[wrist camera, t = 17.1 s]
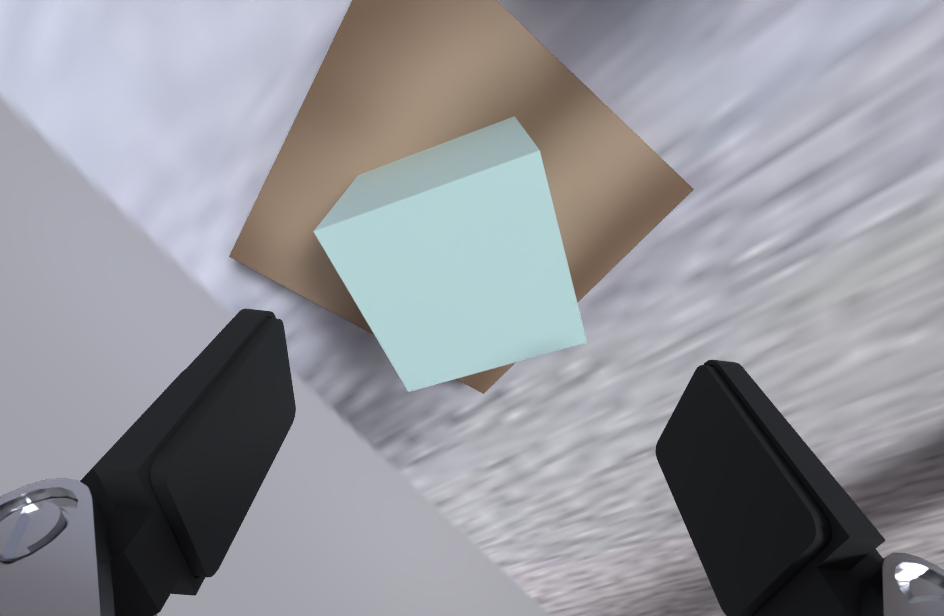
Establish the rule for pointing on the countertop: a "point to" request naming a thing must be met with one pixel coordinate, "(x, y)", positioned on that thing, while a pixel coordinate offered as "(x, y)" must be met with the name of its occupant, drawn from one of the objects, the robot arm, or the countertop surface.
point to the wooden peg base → (443, 119)
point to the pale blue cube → (457, 257)
